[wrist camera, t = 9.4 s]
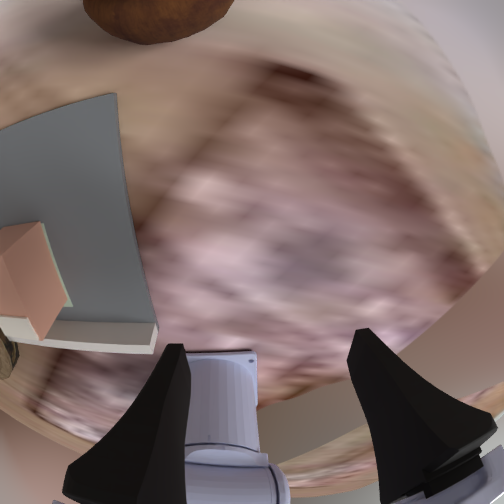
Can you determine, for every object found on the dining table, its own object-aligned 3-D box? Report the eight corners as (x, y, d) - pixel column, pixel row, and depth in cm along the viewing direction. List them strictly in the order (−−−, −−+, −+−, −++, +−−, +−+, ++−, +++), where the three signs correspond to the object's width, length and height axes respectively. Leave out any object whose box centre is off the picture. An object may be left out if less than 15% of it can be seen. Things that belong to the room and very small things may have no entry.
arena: (159, 327, 23) (152, 354, 20) (21, 321, 22) (9, 340, 19) (116, 93, 14) (95, 92, 11) (-36, 149, 13) (-59, 158, 10)
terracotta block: (40, 221, 17) (0, 256, 12) (67, 299, 20) (41, 342, 16) (3, 227, 16) (-35, 259, 12) (31, 298, 20) (4, 337, 15)
